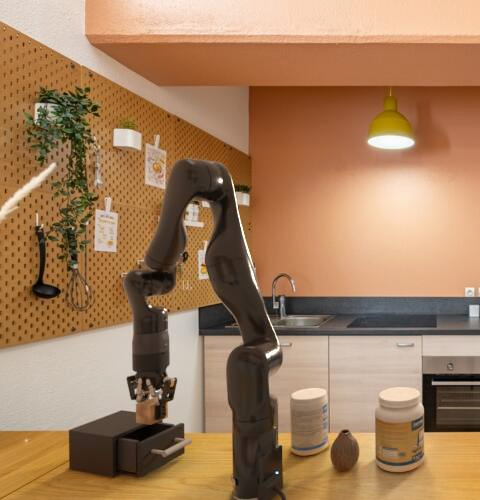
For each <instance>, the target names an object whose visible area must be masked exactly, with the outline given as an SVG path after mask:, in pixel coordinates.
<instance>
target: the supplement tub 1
mask: <svg viewBox="0 0 480 500" xmlns="http://www.w3.org/2000/svg"><path fill="white" fill-rule="evenodd" d="M289 410H290V411H289V418H290V423H289V424H290V425H289V426H290V450H291V452H292V453H293V454H295V455H296V456H302V457H303V456H304V457H305V456H312V455H316V454H319V453H320V452H322V451H324V450H325V449H326V448H327V447H328V444H329V417H328V416H329V415H328V394H327V390H325V388H321V387H309V388H308V387H307V388H303V389H298V390H295V391H294V392H292V393H291V395H290V401H289Z"/></svg>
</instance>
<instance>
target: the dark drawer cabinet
mask: <svg viewBox="0 0 480 500" xmlns="http://www.w3.org/2000/svg"><path fill="white" fill-rule="evenodd" d="M163 420H164V419H163ZM163 420H161V421H158V422H162V423H164V422H163ZM144 426H147V424H140V423H136V411H130V410H123V409H121V410H118V411H116V412H112V413H111V414H108V415H105V416H103V417H99V418H97V419H94V420H91V421H88V422H86V423H84V424H81V425H79V426H76V427H73V428H71V429H68V469H69V470H72V471H77V472H83V473H88V474H93V475H97V476H102V477H109V478H115V477H117V476H120V475H121V474H124V473H125V472H126V471H123V470H118V469H116V439H117V438H119V437H121V436H124V435H126V434H128V433H131V432H133V431H135V430H138V429H140V428H142V427H144Z"/></svg>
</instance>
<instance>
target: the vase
mask: <svg viewBox="0 0 480 500" xmlns="http://www.w3.org/2000/svg"><path fill="white" fill-rule="evenodd" d="M329 453H330V456H329V457H330V462H331V464H332V467H334V468H335V470H337V471H339V472H348V471H350V470H352V469H353V468H354V467H355V466H356V465H357V463H358V461H359V459H360V444H359V442H358V440H357V438H356V437H355V436H354V435H353V434H352V433H351V430H350V429H347V428H344V429H341V430H340V431H339V432H338V435H337V436H336V438H335V439H334V440H333V443H332V444H331V447H330V451H329Z"/></svg>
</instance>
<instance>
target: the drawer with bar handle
mask: <svg viewBox="0 0 480 500" xmlns="http://www.w3.org/2000/svg"><path fill="white" fill-rule="evenodd" d="M192 443H193V439H192V438H191V437H188V438H186V439H185V423H184V422H180V423H177V424H174V423H169V422H163V423H162V422H156V423H154V424H151V425H147V426H144V427H142V428H140V429H138V430H135V431H133V432H131V433H128V434H126V435H124V436H121V437H119V438H117V439H116V469H118V470H123V471H125V472H130V473H133V474H134V473H135V474H137V478H143V477H145V476H146V475H148V474H150V473H152V472H153V471H156V470H157V469H159V468H161V467H162V466H165V465H167V464H168V463H170V462H172V461H174V460H175V459H178V458H179V457H181V456H183V455H184V454H185V453H186V451H185V450H186V449H185V448H186V447H187V446H189V445H190V444H192Z"/></svg>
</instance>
